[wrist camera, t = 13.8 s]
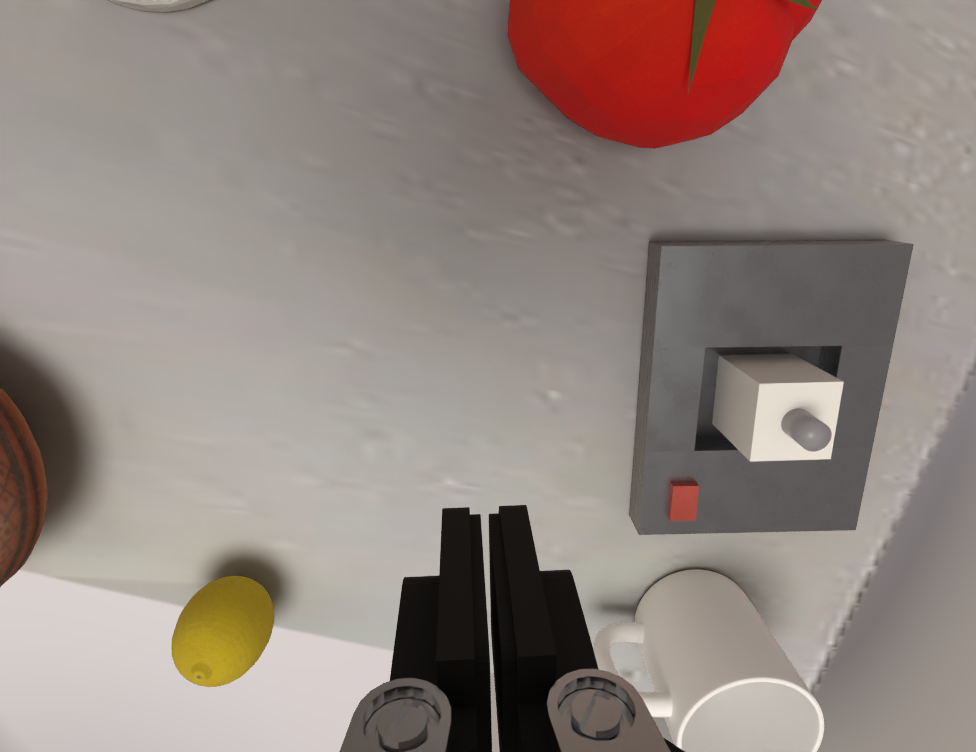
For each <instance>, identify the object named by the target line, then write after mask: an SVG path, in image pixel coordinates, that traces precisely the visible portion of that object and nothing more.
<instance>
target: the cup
mask: <svg viewBox="0 0 976 752" xmlns="http://www.w3.org/2000/svg"><path fill="white" fill-rule="evenodd" d="M616 642H634V643H638V646H639V649H640V652H641V654H642V657H643V660H644V663H645V665H646V668H647V671H648V674H649V676H650V679H651V682H652V685H653V687H654V690H655V692H638V693H639V694H640V696H641V697H642V699H643V701H644V702H645V704H646V706H647V708H648V710H649V712H650V714H651V716H652V717H664V718H665V720H666V723H667V726H668V729H669V732H670V734H671V737H672V740H673V742H674V745H675V746H677V747H679V748H680V749H682V750H683V751H685V752H817V750H818V748H819V746H820V744H821V741H822V738H823V733H824V718H823V714H822V711H821V708H820V706H819V704H818V702H817V701H816V699H815V698H814V696H813V695H812V693H811V692H810V690H809V689H808V687H807V686H806V684H805V683H804V681H803V680H802V678H801V677H800V675H799V674H798V672H797V671H796V669H795V668H794V666H793V665H792V663H791V662H790V660H789V659H788V657H787V656H786V654H785V653H784V651H783V650H782V648H781V647H780V645H779V644H778V642H777V641H776V639H775V638H774V636H773V635H772V633H771V632H770V630H769V629H768V627H767V626H766V624H765V623H764V621H763V620H762V618H761V617H760V615H759V614H758V612H757V611H756V609H755V608H754V606H753V605H752V603H751V602H750V600H749V599H748V597H747V596H746V595H745V593H744V592H743V591H742V590H741V589H740V587H739V586H738V585H736V584H735V583H734V582H733V581H732V580H730V579H729V578H727V577H725V576H723V575H721V574H719V573H716V572H712V571H708V570H698V569H694V570H684V571H680V572H676V573H673V574H671V575H668V576H666V577H664V578H663V579H661V580H659V581H658V582H656V583H655V584H654V585H653V586H652V587H651V588H650V589H649V590H648V591H647V592H646V593H645V595H644V596H643V598H642V599H641V601H640V603H639V605H638V607H637V610H636V614H635V621H634V622H620V623H614V624H611V625H608V626H606V627H605V628H603V629H602V630H601V631H600V632H599V633H598V635H597V637H596V639H595V641H594V654H595V658H596V661H597V665H598V668H599V670H604V671H609V672H611V673H613V674H615V675H617V676H619V675H618V673H617V671H616V669H615V667H614V665H613V662H612V659H611V654H610V648H611V645H612V644H614V643H616Z"/></svg>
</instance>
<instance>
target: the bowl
mask: <svg viewBox="0 0 976 752" xmlns="http://www.w3.org/2000/svg"><path fill="white" fill-rule="evenodd" d="M47 492H48V491H47V483H46V476H45V468H44V464H43V461H42V457H41V453H40V450H39V447H38V445H37V443H36V441H35V439H34V437H33V435H32V433H31V431H30V429H29V427H28V424H27V422H26V420H25V419H24V417H23V416H22V414H21V412H20V411H19V409H18V407H17V406H16V405H15V404H14V403H13V401H12V400H11V399H10V398H9V396H8V395H7V394H6V393H5V391H4V390H2V389H1V388H0V587H1V585H3V584H4V583H5V582H6V581H7V580H8V579H9V578H11V577H12V576H13V575H14V574H15V573H16V572H17V571H18V570H19V569H20V568H21V567H22V566H23V565H24V564H25V562H26V561H27V559H28V557H29V556H30V554H31V552H32V550H33V548H34V546H35V544H36V542H37V540H38V538H39V535H40V532H41V530H42V527H43V522H44V517H45V512H46V507H47Z"/></svg>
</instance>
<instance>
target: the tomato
mask: <svg viewBox="0 0 976 752" xmlns="http://www.w3.org/2000/svg"><path fill="white" fill-rule="evenodd" d="M821 1H822V0H510V5H509V20H508V38H509V41H510V44H511V47H512V50H513V53H514V56H515V59H516V62H517V65H518V68H519V69H520V71H521V72H522V73H523V74H524V75H525V76H526V77H527V78H528V79H529V80H530V81H531V82H532V83H533V84H534V85H535V86H536V87H537V88H538V89H539V90H540V91H541V92H542V93H543V94H544V95H545V96H546V97H547V98H548V99H549V100H550V101H551V102H552V103H553V104H554V105H555V106H556V107H557V108H558V109H559V110H560V111H561V112H562V113H563V114H564V115H565V116H566V117H567V118H569V119H570V120H572V121H573V122H575V123H577V124H578V125H580V126H582V127H583V128H585V129H586V130H588V131H590V132H591V133H593V134H594V135H596V136H599V137H603V138H606V139H610V140H614V141H617V142H621V143H625V144H628V145H632V146H636V147H642V148H659V147H663V146H668V145H672V144H676V143H680V142H684V141H688V140H692V139H696V138H700V137H703V136H707V135H710V134H712V133H714V132H715V131H717V130H718V129H720V128H721V127H723V126H724V125H726V124H727V123H729V122H730V121H732V120H733V119H735V118H736V117H738V116H739V115H741V114H742V113H743V112H744V111H745V110H746V109H747V108H748V107H749V106H750V105H751V104H752V103H753V102H754V101H755V99H756V98H757V97H758V96H759V95H760V94H761V93H762V92H763V91H764V90H765V89H766V88H767V87H768V86H769V85H770V84H771V83H772V82H773V81H774V80H775V79H776V78H777V77H778V75H779V73H780V70H781V68H782V65H783V63H784V60H785V57H786V55H787V52H788V50H789V47H790V45H791V42H792V40H793V39H794V38H795V37H796V36H797V35H798V34H799V33H800V32H801V31H802V29H803V28H804V27H805V26H806V25H807V24H808V23H809V22H810V21H811V19H812V17H813V15H814V14H815V12H816V10H818V9H817V8H818V7H819V5H820V3H821Z"/></svg>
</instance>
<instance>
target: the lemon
mask: <svg viewBox="0 0 976 752" xmlns="http://www.w3.org/2000/svg"><path fill="white" fill-rule="evenodd" d="M273 624H274V608H273V603H272V601H271V598H270V596H269V594H268V592H267V591H266V590H265V588H264V587H263V586H262V585H260V584H259V583H258V582H256V581H254V580H252V579H250V578H247V577H243V576H228V577H223V578H220V579H217V580H215V581H212V582H210V583H209V584H207V585H206V586H205V587H203V588H202V589H201V590H199V591H198V592H197V593H196V594H195V595H194V596H193V597H192V598H191V600H190V601H189V602H188V604H187V605H186V606H185V608H184V609H183V611H182V612H181V615H180V617H179V619H178V622H177V624H176V627H175V630H174V634H173V638H172V657H173V660H174V664H175V666H176V668H177V669H178V671H179V672H180V674H181V675H183V677H185V678H186V679H187V680H189V681H190V682H192V683H194V684H197V685H200V686H206V687H216V686H221V685H225V684H228V683H230V682H232V681H234V680H236V679H238V678H240V677H241V676H242V675H243V674H245V673H246V672H247V671H248V670H249V669H250V668H251V667H252V666H253V665H254V664H255V662H256V661H257V660H258V659H259V657H260V656H261V654H262V652H263V650H264V649H265V647H266V645H267V643H268V642H269V639H270V636H271V633H272V628H273Z"/></svg>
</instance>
